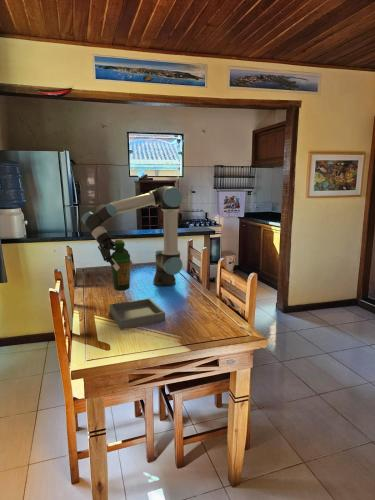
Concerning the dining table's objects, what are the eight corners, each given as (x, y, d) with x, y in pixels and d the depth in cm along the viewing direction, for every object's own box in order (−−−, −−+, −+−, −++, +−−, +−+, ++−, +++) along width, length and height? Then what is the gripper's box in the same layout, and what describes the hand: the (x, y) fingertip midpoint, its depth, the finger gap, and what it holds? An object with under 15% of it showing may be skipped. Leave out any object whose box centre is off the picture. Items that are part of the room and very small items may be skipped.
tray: (150, 305, 177) (149, 297, 176) (165, 321, 157) (165, 312, 156) (109, 312, 167) (109, 304, 166) (120, 330, 148) (120, 321, 147)
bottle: (127, 292, 171) (125, 241, 165) (108, 291, 173) (105, 240, 167) (134, 286, 181) (132, 238, 175) (116, 285, 183) (114, 237, 177)
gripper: (112, 237, 189) (134, 266, 185) (82, 243, 169) (106, 276, 165) (118, 229, 185) (141, 258, 181) (89, 234, 165) (114, 267, 161)
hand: (125, 266), depth 173 cm, fingers closed on bottle, 10 cm apart
